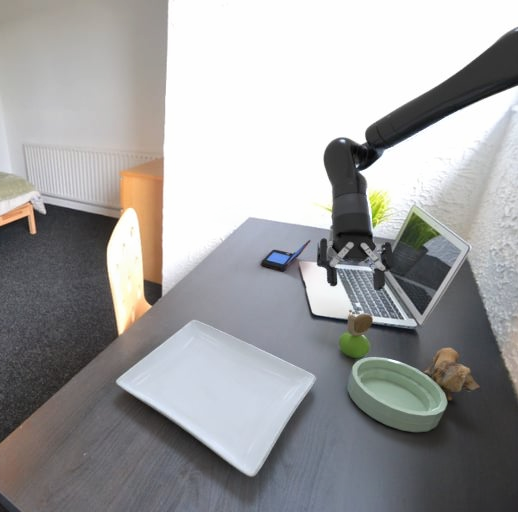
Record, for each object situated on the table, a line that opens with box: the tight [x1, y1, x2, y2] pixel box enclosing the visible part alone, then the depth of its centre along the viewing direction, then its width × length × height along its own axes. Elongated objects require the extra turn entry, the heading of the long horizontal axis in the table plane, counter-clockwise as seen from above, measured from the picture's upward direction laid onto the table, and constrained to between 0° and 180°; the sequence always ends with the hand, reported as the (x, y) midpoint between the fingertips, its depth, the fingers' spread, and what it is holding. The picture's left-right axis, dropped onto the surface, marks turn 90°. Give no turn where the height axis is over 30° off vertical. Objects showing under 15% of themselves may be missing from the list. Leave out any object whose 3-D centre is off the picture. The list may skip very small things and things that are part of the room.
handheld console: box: [260, 239, 311, 272], centre depth 115 cm, size 12×11×7 cm
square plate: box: [115, 319, 317, 478], centre depth 69 cm, size 27×27×4 cm
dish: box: [346, 356, 448, 433], centre depth 66 cm, size 14×14×4 cm
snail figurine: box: [338, 309, 374, 359], centre depth 75 cm, size 5×6×12 cm
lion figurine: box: [423, 347, 480, 401], centre depth 68 cm, size 15×5×9 cm, turn 150°
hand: (356, 287), depth 78 cm, fingers open, 8 cm apart
